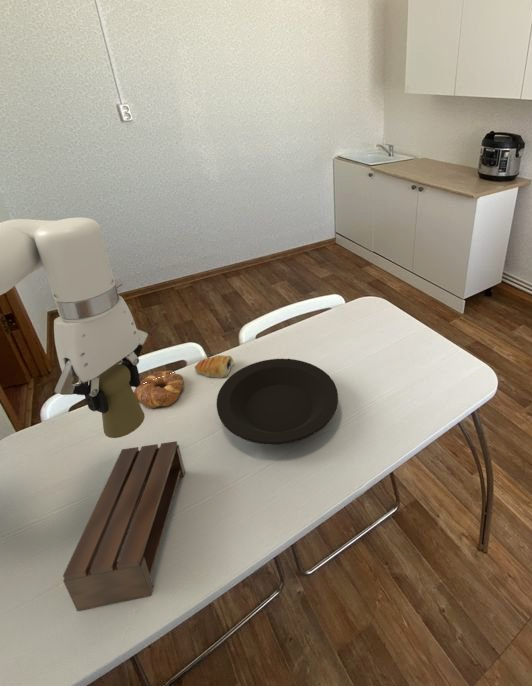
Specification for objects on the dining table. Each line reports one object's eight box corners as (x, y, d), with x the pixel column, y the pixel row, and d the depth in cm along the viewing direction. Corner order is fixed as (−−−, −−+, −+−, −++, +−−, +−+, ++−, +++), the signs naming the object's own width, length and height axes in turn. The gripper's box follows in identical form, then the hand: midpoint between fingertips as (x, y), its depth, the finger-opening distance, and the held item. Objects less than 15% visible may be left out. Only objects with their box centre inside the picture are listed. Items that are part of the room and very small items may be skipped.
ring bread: (193, 394, 94) (190, 382, 93) (145, 419, 87) (141, 407, 86) (175, 370, 102) (173, 359, 101) (130, 392, 95) (127, 380, 94)
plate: (194, 432, 83) (190, 412, 81) (263, 365, 104) (261, 348, 102) (302, 483, 72) (300, 462, 70) (356, 396, 92) (356, 378, 90)
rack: (76, 611, 55) (60, 576, 52) (130, 480, 73) (120, 449, 71) (151, 595, 56) (139, 561, 54) (185, 471, 75) (178, 440, 72)
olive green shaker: (108, 415, 67) (92, 363, 63) (147, 405, 69) (133, 354, 65) (99, 442, 61) (81, 388, 58) (142, 431, 63) (127, 377, 60)
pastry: (191, 379, 99) (189, 367, 98) (201, 362, 105) (199, 350, 104) (227, 378, 99) (225, 366, 98) (235, 361, 105) (233, 350, 104)
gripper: (121, 272, 66) (143, 359, 72) (6, 327, 50) (46, 431, 57) (154, 279, 63) (174, 368, 69) (44, 338, 48) (82, 446, 54)
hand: (116, 395), depth 63 cm, fingers closed on olive green shaker, 5 cm apart
